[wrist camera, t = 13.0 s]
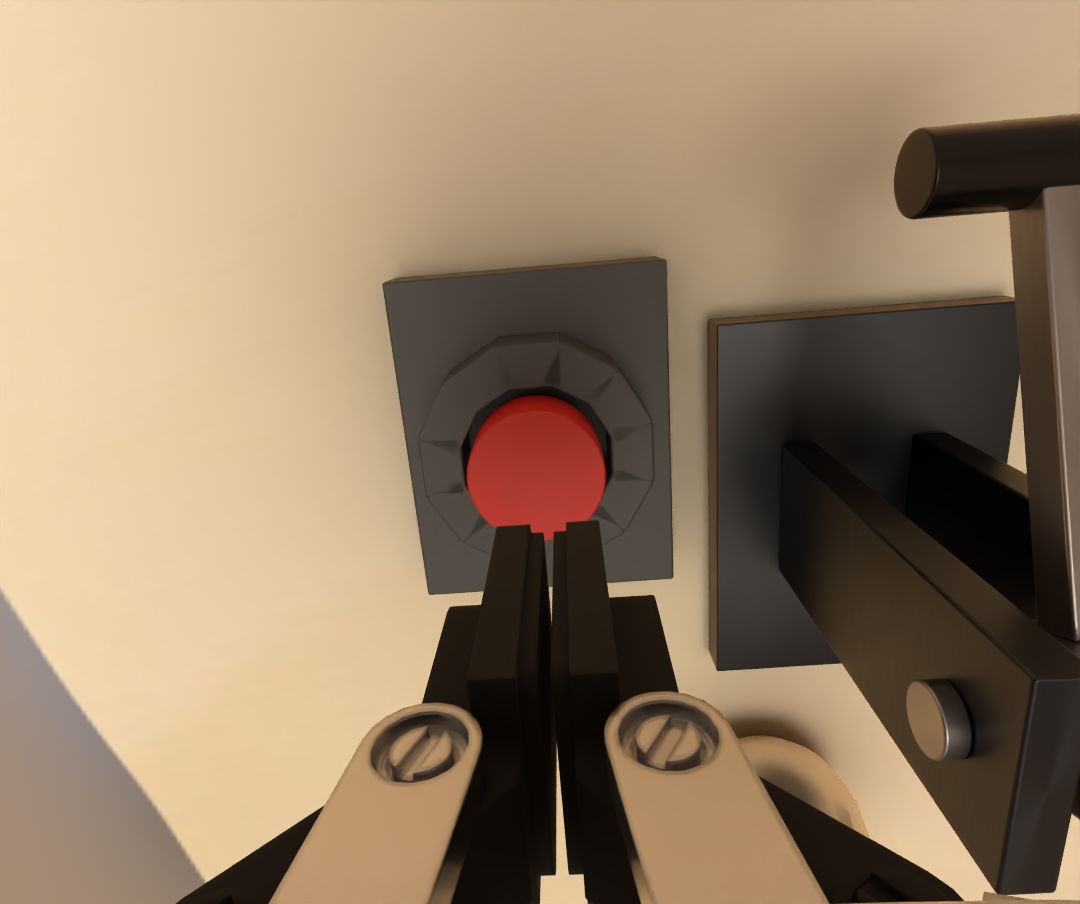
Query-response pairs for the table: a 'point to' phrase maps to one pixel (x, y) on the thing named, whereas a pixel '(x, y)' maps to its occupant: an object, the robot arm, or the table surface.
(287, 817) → the table surface
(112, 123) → the table surface
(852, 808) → the plastic bottle
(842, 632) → the bracket
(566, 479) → the button
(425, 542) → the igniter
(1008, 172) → the lever
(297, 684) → the table surface
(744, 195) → the table surface
